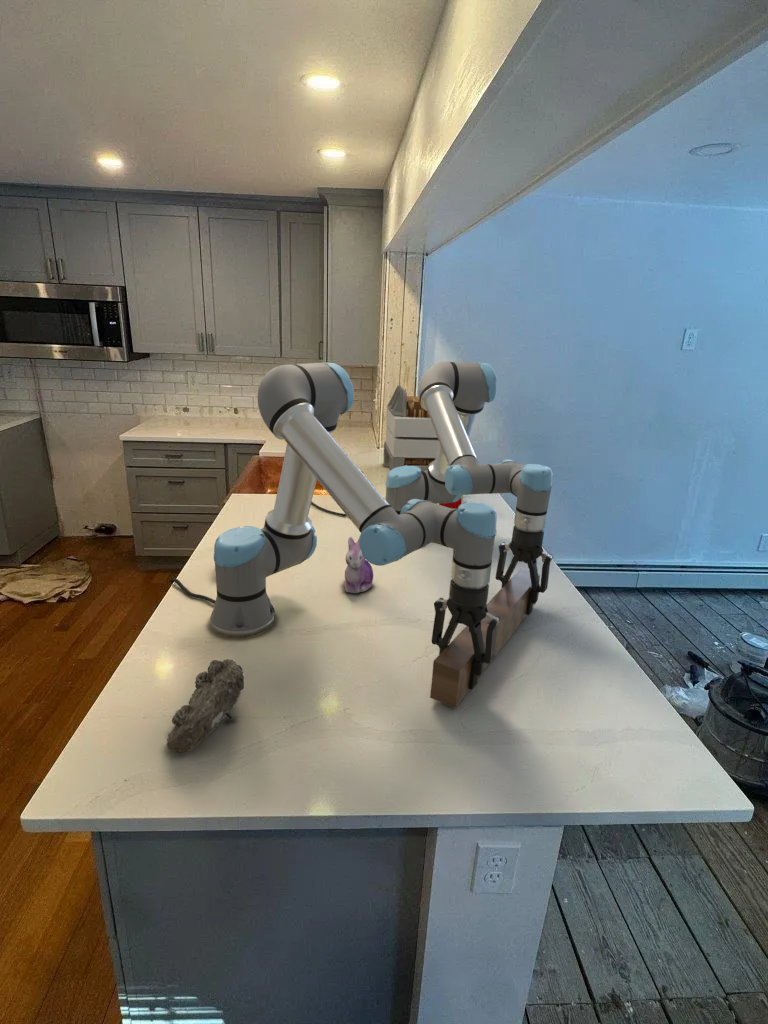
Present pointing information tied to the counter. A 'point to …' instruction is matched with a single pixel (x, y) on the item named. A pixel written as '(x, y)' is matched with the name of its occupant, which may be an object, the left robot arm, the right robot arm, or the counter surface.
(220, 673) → the fossil
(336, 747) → the counter surface
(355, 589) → the figurine
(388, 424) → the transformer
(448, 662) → the beam
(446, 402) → the right robot arm
